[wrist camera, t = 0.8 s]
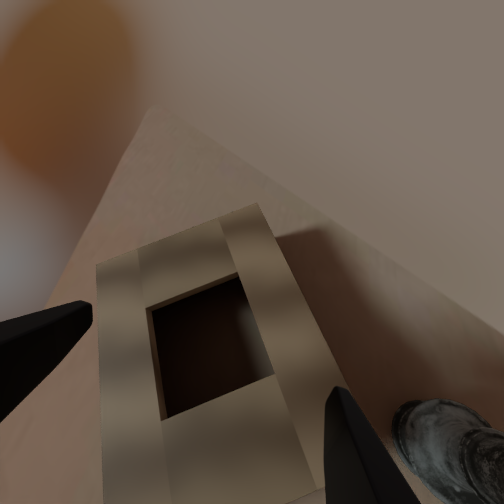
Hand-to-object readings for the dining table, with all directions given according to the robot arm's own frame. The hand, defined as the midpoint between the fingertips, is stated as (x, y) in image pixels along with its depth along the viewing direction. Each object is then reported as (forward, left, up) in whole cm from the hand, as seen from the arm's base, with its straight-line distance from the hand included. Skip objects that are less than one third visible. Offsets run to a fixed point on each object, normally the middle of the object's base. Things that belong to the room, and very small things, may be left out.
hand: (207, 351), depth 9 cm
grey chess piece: (-9, -11, -16) cm, 21 cm away
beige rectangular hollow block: (+3, +2, -16) cm, 17 cm away
